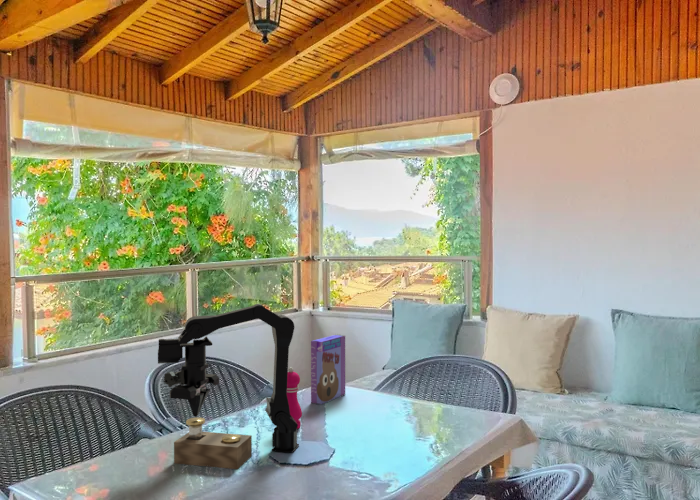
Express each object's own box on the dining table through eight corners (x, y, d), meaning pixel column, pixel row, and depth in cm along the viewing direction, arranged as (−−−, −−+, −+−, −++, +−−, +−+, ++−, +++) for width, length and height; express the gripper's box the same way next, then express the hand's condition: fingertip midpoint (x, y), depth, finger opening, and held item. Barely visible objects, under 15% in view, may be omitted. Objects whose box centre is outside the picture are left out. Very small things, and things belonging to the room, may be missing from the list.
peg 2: (243, 457, 170) (243, 435, 170) (236, 464, 165) (236, 441, 165) (226, 455, 171) (226, 433, 171) (218, 462, 166) (218, 439, 166)
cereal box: (321, 404, 225) (321, 341, 225) (311, 403, 228) (311, 340, 227) (345, 394, 240) (345, 335, 240) (335, 392, 243) (335, 334, 242)
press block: (251, 456, 172) (251, 435, 172) (237, 469, 162) (237, 447, 162) (191, 450, 176) (191, 430, 176) (174, 463, 166) (173, 441, 166)
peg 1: (208, 440, 172) (208, 418, 172) (199, 446, 167) (199, 423, 167) (191, 438, 173) (191, 416, 173) (182, 444, 168) (182, 422, 168)
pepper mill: (298, 431, 194) (298, 370, 194) (277, 429, 196) (277, 369, 195) (304, 424, 201) (304, 365, 201) (284, 423, 203) (283, 364, 203)
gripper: (185, 354, 181) (186, 405, 181) (152, 367, 163) (152, 423, 163) (219, 355, 178) (220, 407, 179) (189, 369, 160) (189, 426, 160)
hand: (195, 415), depth 170 cm, fingers closed
